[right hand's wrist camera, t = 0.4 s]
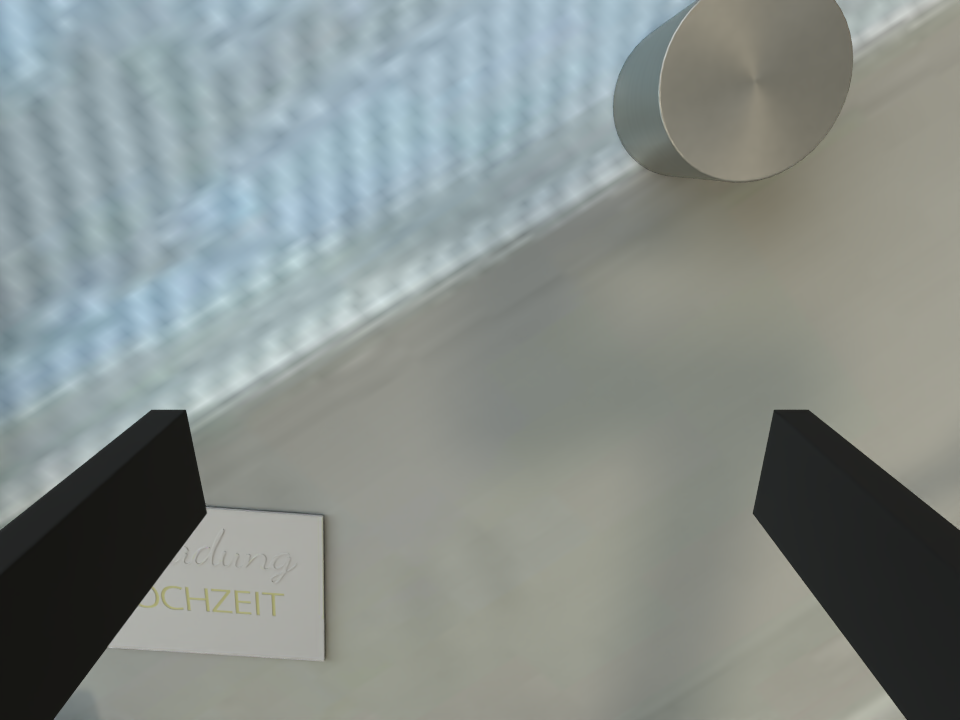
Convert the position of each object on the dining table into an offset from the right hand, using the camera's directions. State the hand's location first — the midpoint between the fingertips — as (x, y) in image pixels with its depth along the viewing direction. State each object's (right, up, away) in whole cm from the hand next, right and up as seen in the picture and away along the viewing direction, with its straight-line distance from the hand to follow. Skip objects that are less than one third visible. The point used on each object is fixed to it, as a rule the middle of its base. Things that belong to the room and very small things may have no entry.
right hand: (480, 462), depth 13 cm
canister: (+12, +18, +21) cm, 31 cm away
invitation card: (-24, -16, +34) cm, 44 cm away
